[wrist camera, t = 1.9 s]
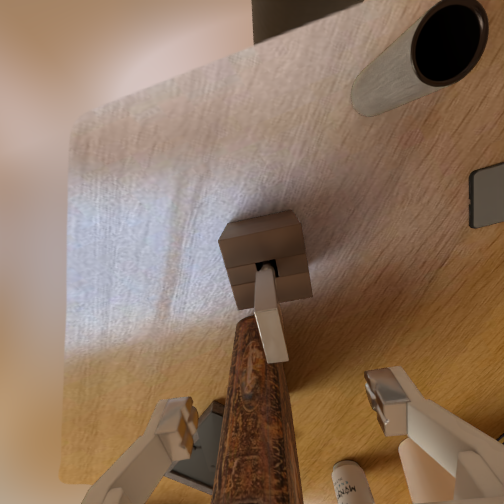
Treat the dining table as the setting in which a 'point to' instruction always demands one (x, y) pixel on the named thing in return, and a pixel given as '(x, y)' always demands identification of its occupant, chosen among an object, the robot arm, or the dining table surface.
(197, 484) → the picture frame
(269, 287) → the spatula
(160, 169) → the dining table surface
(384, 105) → the grey hollow cylinder
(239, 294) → the utensil block
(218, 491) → the book
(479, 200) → the smartphone
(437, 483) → the cup
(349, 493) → the energy drink can
